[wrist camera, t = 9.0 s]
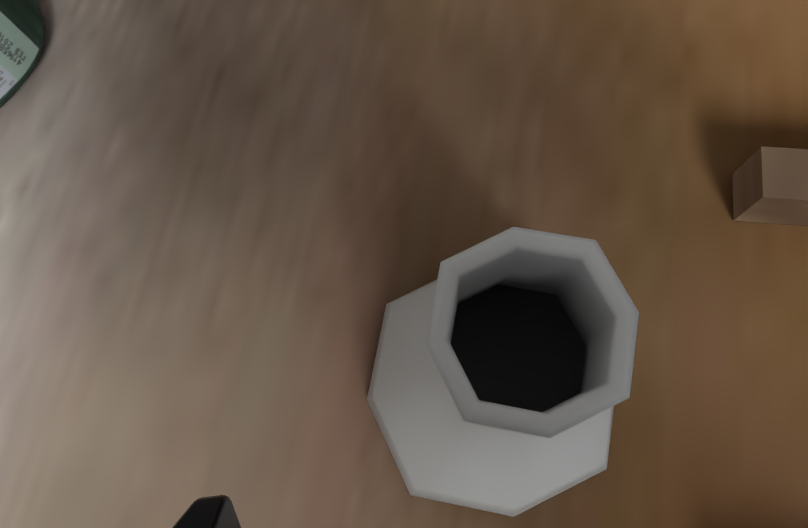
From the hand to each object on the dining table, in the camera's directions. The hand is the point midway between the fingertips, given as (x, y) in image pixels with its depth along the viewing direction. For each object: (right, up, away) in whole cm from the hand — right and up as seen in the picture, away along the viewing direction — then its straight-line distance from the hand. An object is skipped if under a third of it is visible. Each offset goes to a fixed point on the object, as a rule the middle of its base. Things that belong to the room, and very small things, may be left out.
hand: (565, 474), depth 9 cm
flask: (0, -1, +11) cm, 11 cm away
